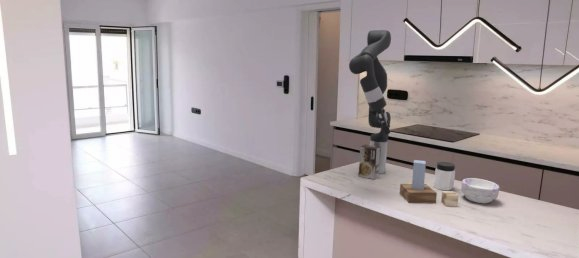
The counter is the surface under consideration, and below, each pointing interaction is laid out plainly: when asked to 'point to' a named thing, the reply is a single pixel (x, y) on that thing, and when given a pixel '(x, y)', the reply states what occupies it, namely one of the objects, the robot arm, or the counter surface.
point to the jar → (444, 176)
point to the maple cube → (449, 198)
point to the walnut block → (418, 194)
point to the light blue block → (418, 175)
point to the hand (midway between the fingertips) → (388, 130)
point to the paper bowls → (479, 190)
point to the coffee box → (369, 161)
